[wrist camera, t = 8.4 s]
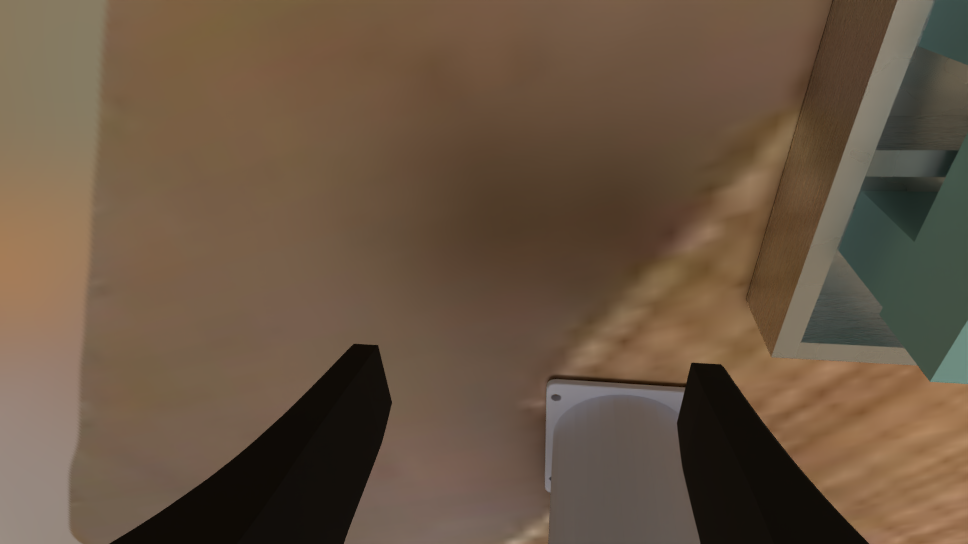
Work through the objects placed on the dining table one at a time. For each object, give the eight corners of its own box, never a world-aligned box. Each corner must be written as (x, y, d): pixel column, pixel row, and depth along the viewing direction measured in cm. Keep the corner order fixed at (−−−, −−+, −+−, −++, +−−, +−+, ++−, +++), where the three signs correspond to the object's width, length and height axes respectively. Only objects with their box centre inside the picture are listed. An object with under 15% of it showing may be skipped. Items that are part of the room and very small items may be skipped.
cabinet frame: (958, 308, 21) (1018, 371, 18) (746, 300, 22) (771, 357, 19) (1260, -201, 12) (1468, -235, 9) (882, -168, 13) (964, -190, 11)
